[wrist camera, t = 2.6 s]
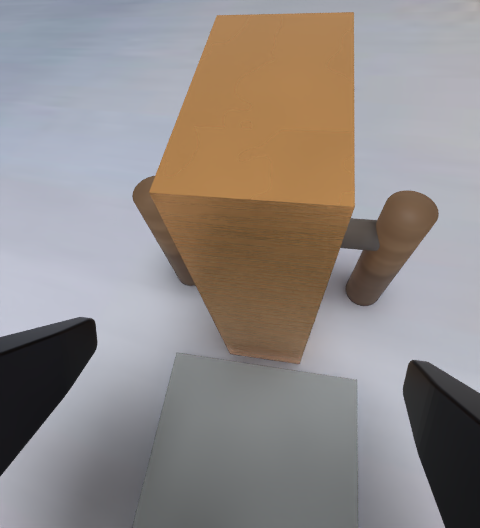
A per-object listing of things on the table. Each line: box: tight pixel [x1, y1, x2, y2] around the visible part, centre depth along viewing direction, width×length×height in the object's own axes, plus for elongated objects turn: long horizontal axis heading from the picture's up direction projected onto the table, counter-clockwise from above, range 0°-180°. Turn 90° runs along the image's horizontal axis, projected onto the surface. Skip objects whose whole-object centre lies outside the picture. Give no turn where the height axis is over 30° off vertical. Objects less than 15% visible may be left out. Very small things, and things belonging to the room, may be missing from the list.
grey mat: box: [132, 353, 358, 528], centre depth 16 cm, size 10×10×1 cm
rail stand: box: [133, 176, 438, 306], centre depth 17 cm, size 2×13×8 cm, turn 81°
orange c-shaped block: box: [149, 12, 355, 364], centre depth 14 cm, size 7×4×14 cm, turn 171°
